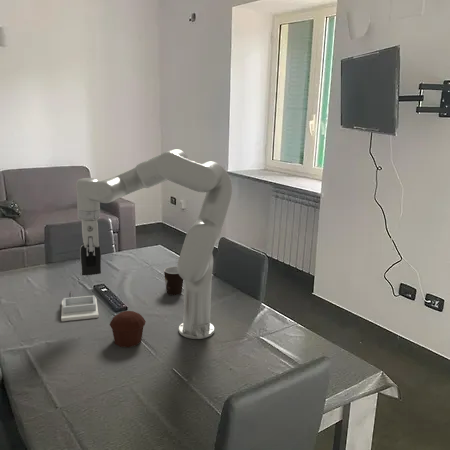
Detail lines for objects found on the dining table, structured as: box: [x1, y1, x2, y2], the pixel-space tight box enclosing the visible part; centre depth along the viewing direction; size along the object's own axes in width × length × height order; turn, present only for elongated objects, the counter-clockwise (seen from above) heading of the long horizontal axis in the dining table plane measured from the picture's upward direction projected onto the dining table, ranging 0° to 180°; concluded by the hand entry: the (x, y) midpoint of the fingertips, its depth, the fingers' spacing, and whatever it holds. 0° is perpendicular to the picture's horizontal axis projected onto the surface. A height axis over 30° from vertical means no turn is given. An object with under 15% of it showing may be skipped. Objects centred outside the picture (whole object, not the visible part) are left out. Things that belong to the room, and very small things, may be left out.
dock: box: [60, 290, 100, 322], centre depth 180 cm, size 26×13×4 cm, turn 18°
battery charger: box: [79, 242, 102, 276], centre depth 163 cm, size 7×4×11 cm, turn 113°
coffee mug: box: [163, 266, 184, 296], centre depth 195 cm, size 12×9×10 cm
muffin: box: [109, 310, 147, 348], centre depth 153 cm, size 12×11×10 cm
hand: (90, 263), depth 164 cm, fingers closed on battery charger, 4 cm apart
